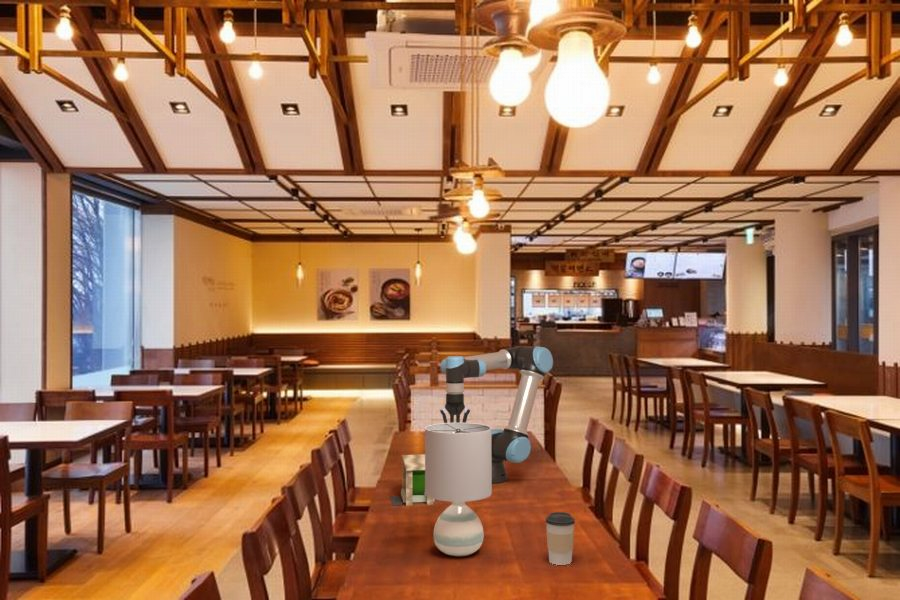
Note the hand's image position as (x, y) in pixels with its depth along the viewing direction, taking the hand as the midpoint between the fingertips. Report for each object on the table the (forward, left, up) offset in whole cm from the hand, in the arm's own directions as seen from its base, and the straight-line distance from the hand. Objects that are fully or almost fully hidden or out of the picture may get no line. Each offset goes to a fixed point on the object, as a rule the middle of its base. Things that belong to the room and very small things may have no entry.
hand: (455, 449), depth 307 cm
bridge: (+16, 0, -20) cm, 26 cm away
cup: (+16, 0, -20) cm, 26 cm away
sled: (+7, 0, -20) cm, 21 cm away
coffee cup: (-21, +83, -21) cm, 88 cm away
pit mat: (+25, +2, -20) cm, 32 cm away
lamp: (+9, +69, -20) cm, 72 cm away
